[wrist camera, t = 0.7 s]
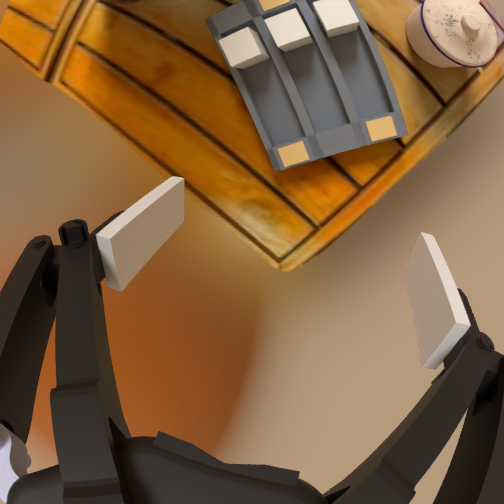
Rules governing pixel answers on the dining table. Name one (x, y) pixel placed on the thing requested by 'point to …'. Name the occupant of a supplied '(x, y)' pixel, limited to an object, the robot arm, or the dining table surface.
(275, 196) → the dining table surface
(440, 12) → the teacup with lid
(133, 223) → the robot arm
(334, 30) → the tab
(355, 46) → the switch bank
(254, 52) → the tab
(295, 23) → the tab
